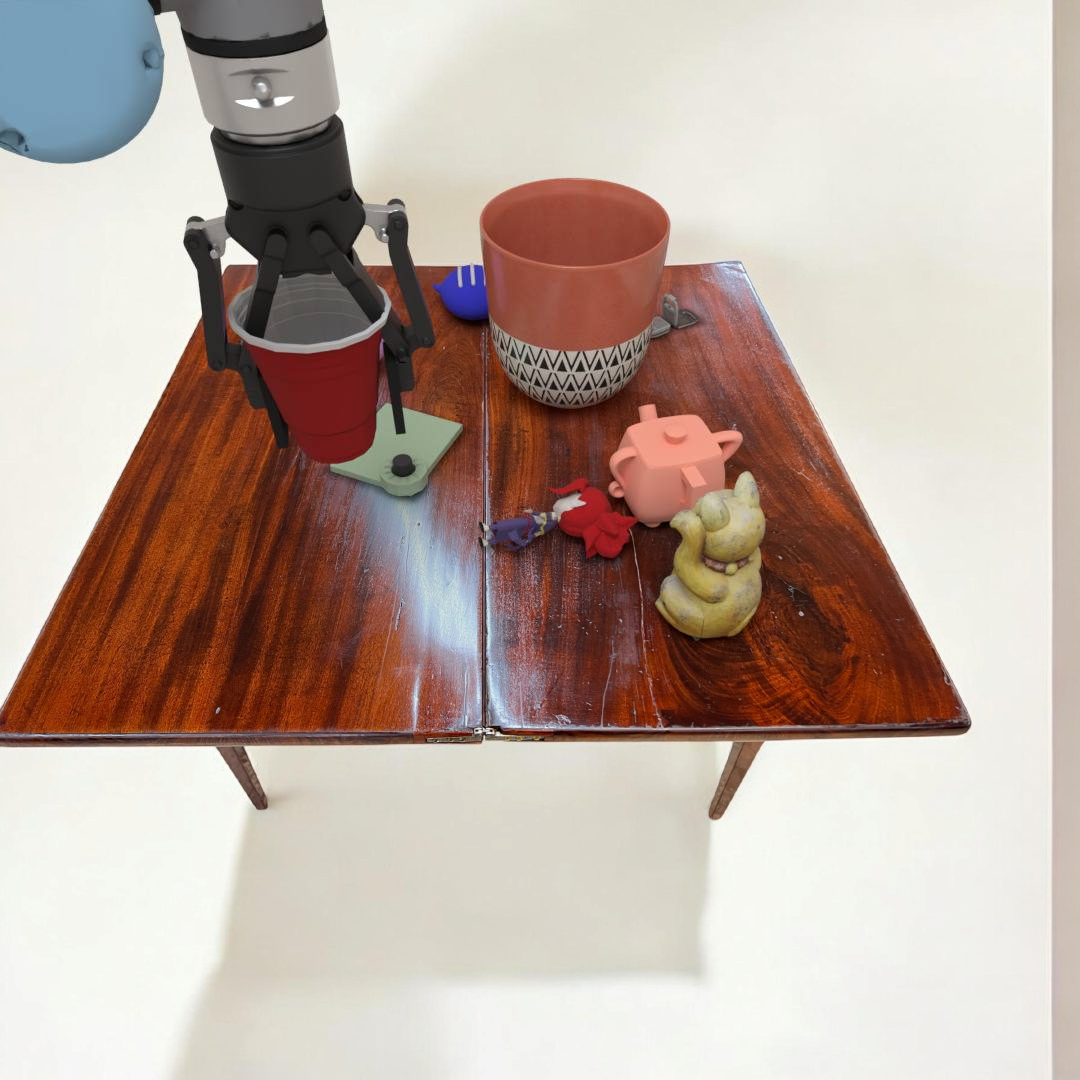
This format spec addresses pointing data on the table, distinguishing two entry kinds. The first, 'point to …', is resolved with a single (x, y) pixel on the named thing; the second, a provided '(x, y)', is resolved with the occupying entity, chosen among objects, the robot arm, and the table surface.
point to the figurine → (569, 522)
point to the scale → (402, 451)
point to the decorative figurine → (716, 563)
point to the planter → (572, 285)
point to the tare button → (402, 465)
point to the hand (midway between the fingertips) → (342, 429)
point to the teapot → (669, 464)
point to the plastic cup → (319, 364)
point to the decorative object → (465, 292)
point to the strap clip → (671, 317)
